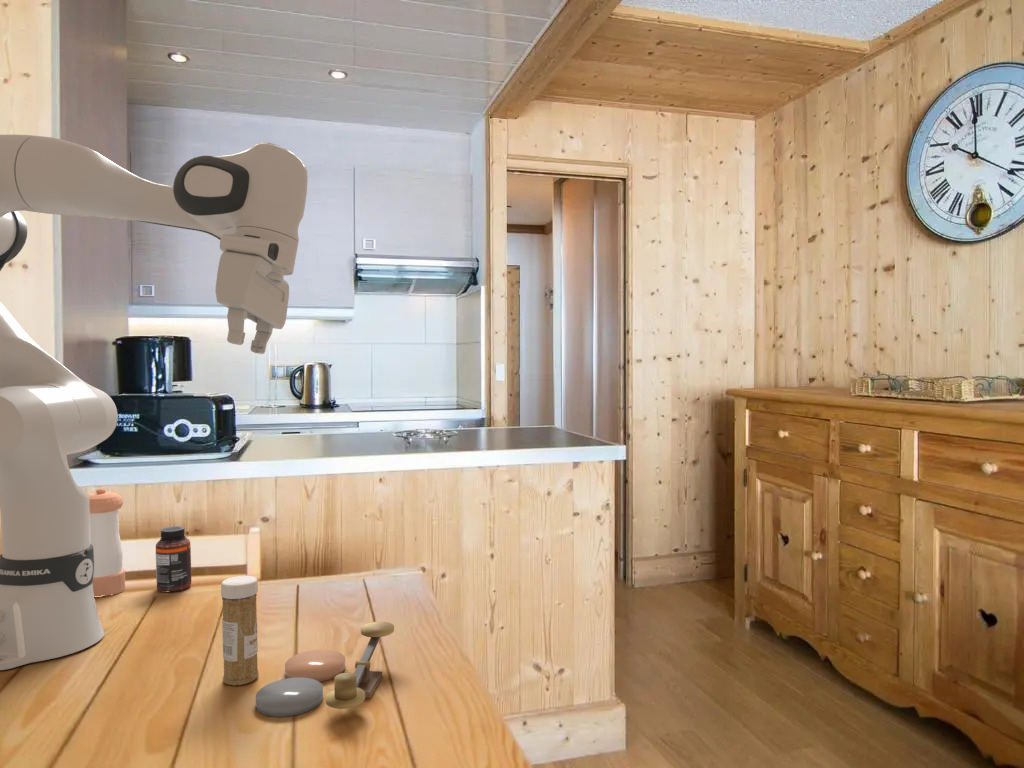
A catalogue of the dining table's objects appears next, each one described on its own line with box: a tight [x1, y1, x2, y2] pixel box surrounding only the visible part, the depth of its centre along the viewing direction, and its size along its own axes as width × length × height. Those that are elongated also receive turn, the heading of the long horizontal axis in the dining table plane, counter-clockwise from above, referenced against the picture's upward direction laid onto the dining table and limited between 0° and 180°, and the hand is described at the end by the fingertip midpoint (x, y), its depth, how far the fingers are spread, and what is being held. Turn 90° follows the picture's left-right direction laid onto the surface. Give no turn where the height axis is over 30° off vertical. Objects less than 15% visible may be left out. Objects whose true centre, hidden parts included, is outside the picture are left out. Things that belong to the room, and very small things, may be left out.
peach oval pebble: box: [284, 649, 346, 683], centre depth 98 cm, size 8×8×1 cm
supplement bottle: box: [155, 526, 192, 592], centre depth 133 cm, size 6×6×11 cm
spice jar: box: [220, 575, 260, 686], centre depth 95 cm, size 5×5×13 cm
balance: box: [325, 621, 395, 710], centre depth 93 cm, size 5×19×5 cm, turn 176°
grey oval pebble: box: [255, 677, 324, 718], centre depth 89 cm, size 8×8×1 cm
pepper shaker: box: [87, 487, 126, 596], centre depth 131 cm, size 7×7×19 cm
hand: (246, 348), depth 103 cm, fingers open, 8 cm apart
